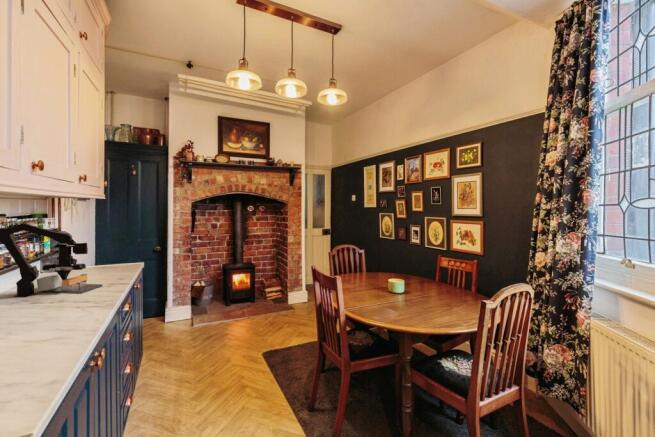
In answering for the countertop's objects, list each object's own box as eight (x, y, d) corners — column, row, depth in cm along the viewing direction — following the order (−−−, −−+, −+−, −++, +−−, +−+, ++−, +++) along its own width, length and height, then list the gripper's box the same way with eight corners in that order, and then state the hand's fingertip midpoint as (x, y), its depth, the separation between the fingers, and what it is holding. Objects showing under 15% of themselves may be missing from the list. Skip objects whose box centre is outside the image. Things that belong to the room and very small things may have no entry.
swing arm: (82, 279, 186) (82, 274, 186) (89, 279, 186) (89, 274, 186) (61, 285, 170) (61, 280, 170) (69, 285, 170) (69, 280, 170)
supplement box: (47, 275, 181) (36, 278, 169) (62, 273, 183) (52, 276, 172) (48, 287, 181) (37, 291, 169) (64, 285, 183) (54, 289, 172)
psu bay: (82, 293, 171) (82, 286, 170) (46, 292, 170) (46, 285, 170) (102, 286, 187) (102, 279, 186) (70, 285, 186) (70, 279, 186)
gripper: (90, 252, 183) (90, 278, 183) (54, 252, 178) (54, 278, 179) (80, 255, 172) (80, 282, 172) (41, 255, 167) (41, 283, 168)
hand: (64, 281), depth 173 cm, fingers closed
